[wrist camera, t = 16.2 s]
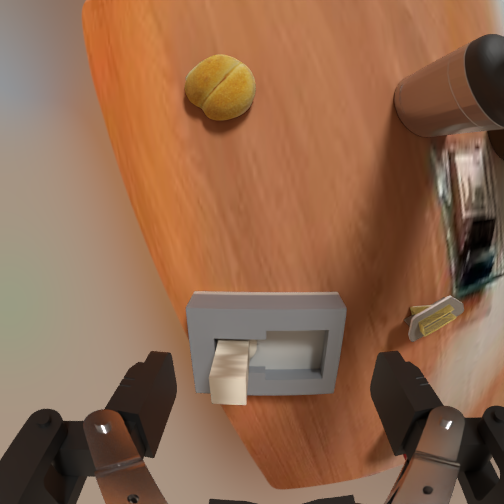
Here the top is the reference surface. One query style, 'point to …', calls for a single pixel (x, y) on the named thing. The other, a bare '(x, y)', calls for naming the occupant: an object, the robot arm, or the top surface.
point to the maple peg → (231, 371)
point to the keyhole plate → (271, 338)
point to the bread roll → (221, 87)
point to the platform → (432, 317)
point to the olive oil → (497, 141)
